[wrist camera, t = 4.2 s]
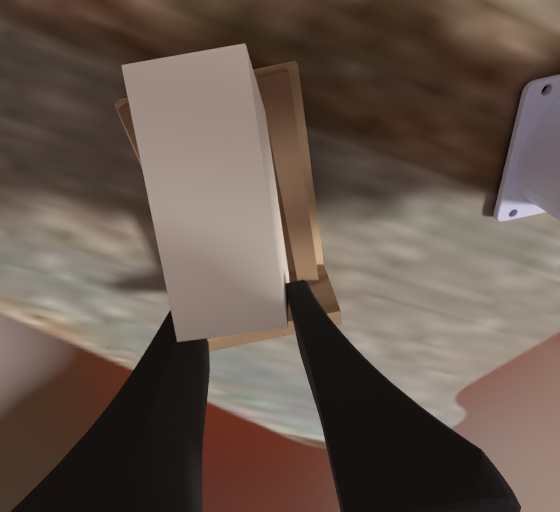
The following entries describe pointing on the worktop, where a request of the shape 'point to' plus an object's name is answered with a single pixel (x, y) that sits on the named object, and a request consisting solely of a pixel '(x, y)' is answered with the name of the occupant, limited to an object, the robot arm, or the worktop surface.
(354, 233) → the worktop surface
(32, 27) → the worktop surface
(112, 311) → the worktop surface
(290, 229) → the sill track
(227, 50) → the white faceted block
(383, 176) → the worktop surface
